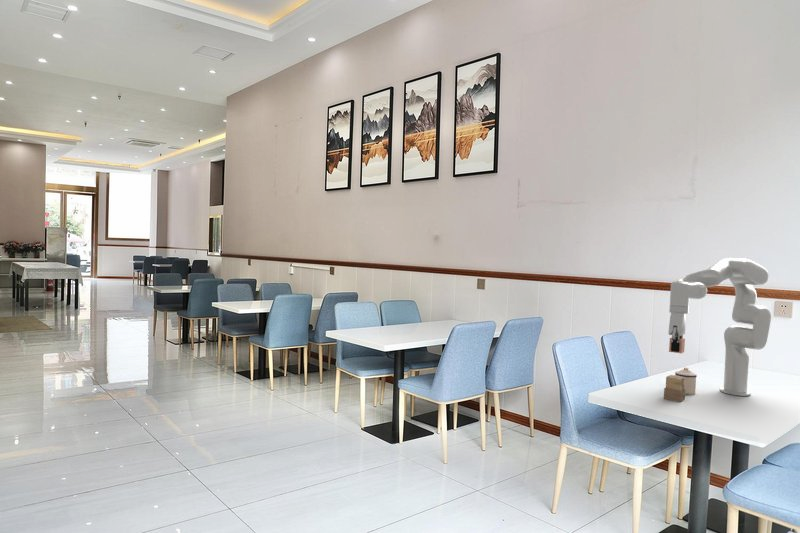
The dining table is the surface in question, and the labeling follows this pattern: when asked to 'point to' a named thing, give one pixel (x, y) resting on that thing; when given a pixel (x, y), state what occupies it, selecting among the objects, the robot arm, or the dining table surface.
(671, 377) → the block
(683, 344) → the terracotta block
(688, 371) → the teacup with lid
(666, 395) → the tower base
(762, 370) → the dining table surface
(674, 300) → the robot arm
